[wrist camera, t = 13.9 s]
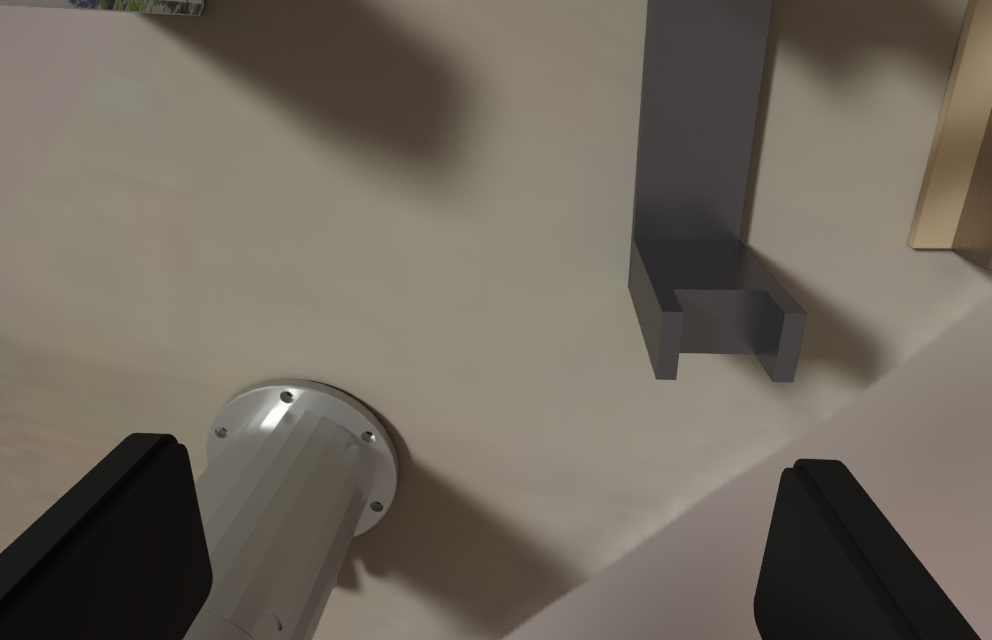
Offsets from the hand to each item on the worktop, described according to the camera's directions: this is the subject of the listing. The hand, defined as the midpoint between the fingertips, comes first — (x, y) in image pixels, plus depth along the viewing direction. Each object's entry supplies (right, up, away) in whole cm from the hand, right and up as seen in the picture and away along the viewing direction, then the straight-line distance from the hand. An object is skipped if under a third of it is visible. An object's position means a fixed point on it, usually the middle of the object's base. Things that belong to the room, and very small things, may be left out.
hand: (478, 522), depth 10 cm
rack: (+10, +14, +21) cm, 27 cm away
